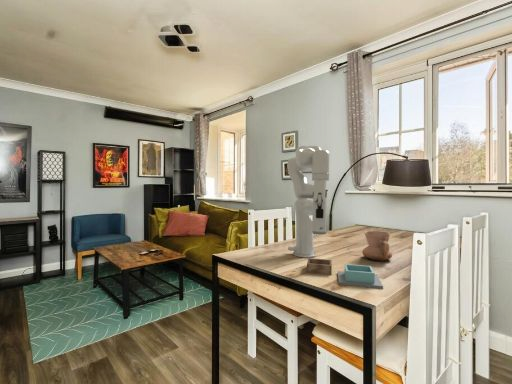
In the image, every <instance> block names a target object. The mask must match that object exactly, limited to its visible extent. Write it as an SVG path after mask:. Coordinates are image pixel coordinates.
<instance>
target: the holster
mask: <svg viewBox="0 0 512 384" xmlns="http://www.w3.org/2000/svg"><path fill="white" fill-rule="evenodd" d="M332 263H333V262H332V259H327V258H326V259H324V258H313V257H308V258H307V262H306V273H307V274H316V275H317V274H318V275H327V276H328V275H330V276H331V275H332V274H333V273H332V269H333V268H332V267H333V266H332Z"/></svg>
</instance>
